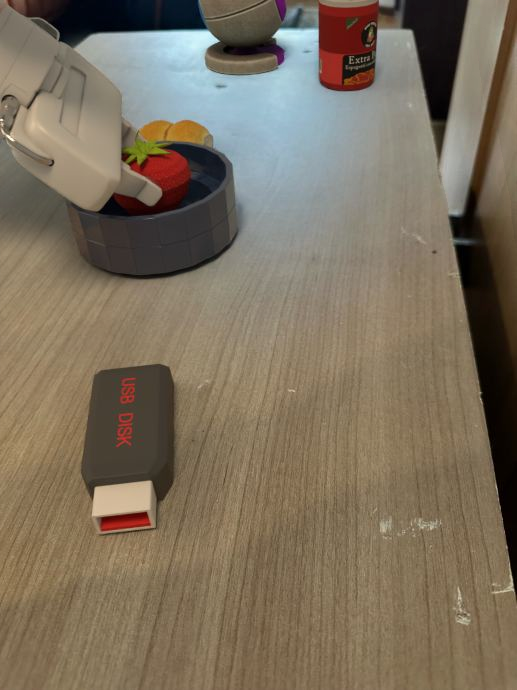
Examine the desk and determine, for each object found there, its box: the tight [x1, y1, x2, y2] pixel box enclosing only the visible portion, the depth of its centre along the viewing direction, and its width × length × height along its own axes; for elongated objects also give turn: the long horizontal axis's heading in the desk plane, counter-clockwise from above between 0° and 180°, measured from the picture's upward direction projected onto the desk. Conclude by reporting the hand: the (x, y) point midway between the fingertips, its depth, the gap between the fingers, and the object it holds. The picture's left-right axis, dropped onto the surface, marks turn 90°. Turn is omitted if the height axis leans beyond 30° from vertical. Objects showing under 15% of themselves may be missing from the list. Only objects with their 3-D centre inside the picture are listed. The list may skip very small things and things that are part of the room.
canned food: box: [317, 0, 380, 92], centre depth 86 cm, size 8×8×11 cm
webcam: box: [197, 0, 288, 76], centre depth 94 cm, size 13×13×15 cm
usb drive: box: [80, 363, 175, 535], centre depth 40 cm, size 5×12×3 cm, turn 6°
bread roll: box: [138, 119, 214, 149], centre depth 73 cm, size 8×9×4 cm
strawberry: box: [113, 129, 191, 216], centre depth 58 cm, size 6×8×10 cm
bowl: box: [62, 141, 239, 276], centre depth 60 cm, size 15×15×6 cm
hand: (156, 177), depth 58 cm, fingers closed on strawberry, 6 cm apart
